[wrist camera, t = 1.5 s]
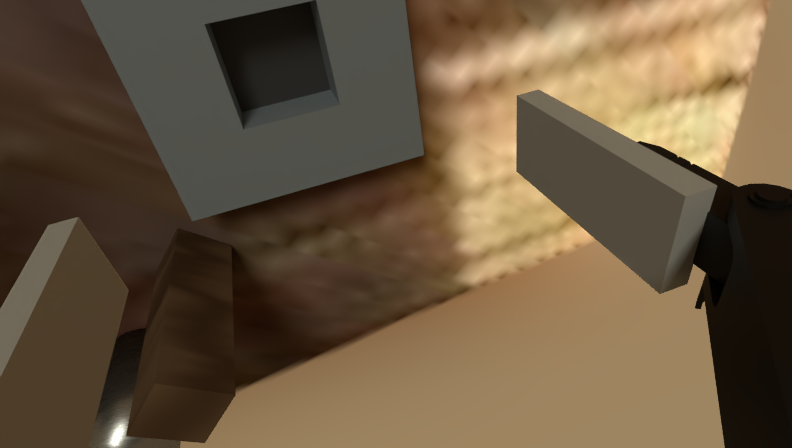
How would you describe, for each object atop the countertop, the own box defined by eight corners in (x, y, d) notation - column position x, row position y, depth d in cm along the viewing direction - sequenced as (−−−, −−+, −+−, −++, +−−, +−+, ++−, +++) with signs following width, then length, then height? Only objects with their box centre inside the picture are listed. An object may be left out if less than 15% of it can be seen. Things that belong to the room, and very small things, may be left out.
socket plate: (194, 195, 32) (192, 221, 30) (66, -72, 23) (45, -71, 20) (408, 136, 35) (424, 155, 32) (370, -125, 26) (388, -131, 23)
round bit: (128, 388, 40) (105, 505, 32) (91, 343, 36) (54, 462, 28) (198, 364, 41) (192, 472, 33) (169, 318, 37) (154, 427, 29)
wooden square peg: (157, 269, 35) (126, 436, 23) (177, 228, 33) (154, 383, 22) (210, 283, 37) (204, 442, 25) (231, 245, 35) (235, 394, 24)
